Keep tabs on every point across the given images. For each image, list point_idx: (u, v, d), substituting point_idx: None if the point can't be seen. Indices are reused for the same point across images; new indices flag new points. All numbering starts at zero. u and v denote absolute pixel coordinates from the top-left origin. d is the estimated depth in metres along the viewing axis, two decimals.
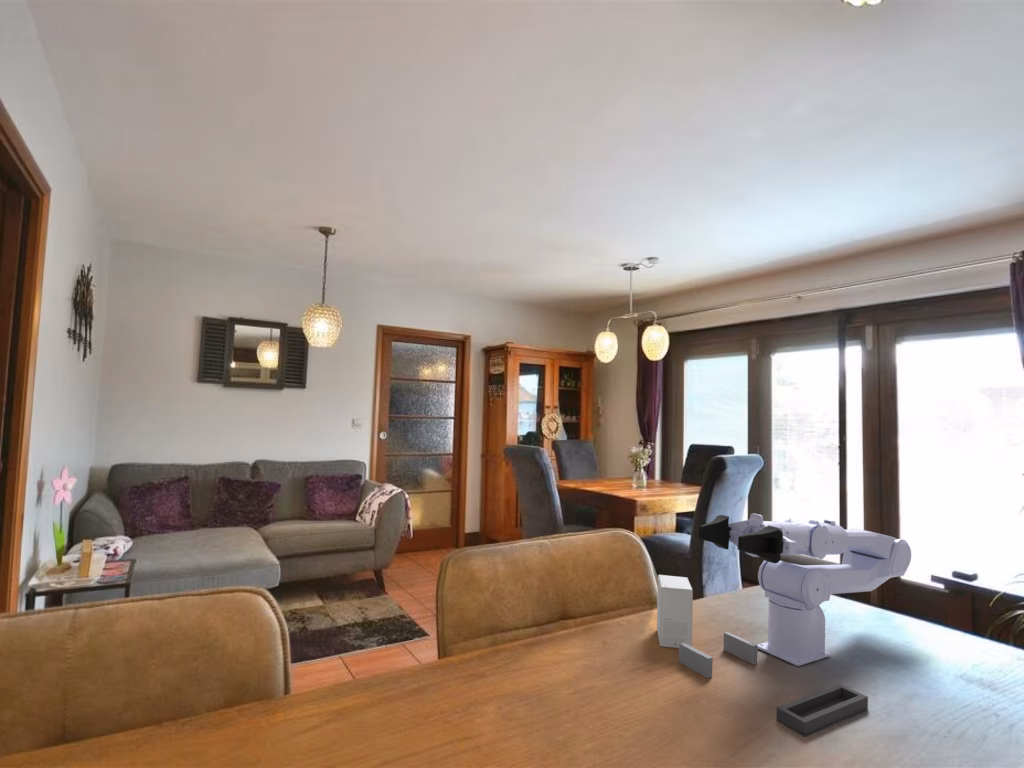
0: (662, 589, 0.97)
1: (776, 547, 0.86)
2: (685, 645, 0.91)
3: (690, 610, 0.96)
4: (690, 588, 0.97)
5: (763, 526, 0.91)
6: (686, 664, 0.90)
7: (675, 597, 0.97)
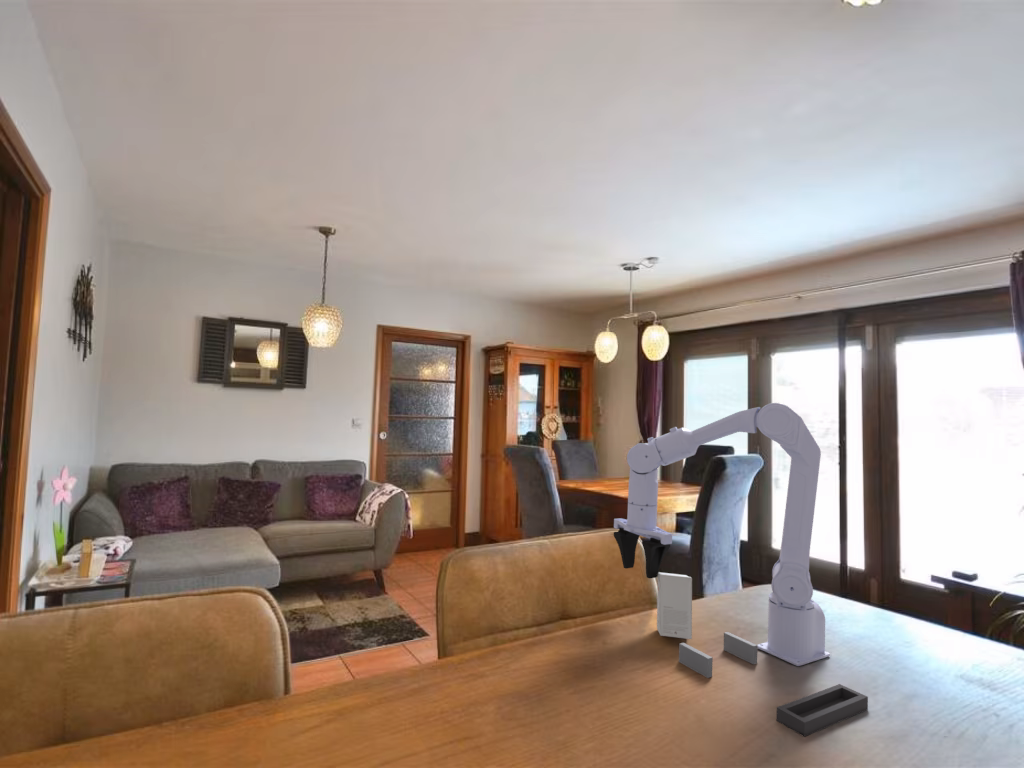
0: (662, 576, 1.00)
1: None
2: (685, 645, 0.91)
3: (690, 598, 0.98)
4: (689, 577, 0.99)
5: (639, 532, 1.06)
6: (686, 664, 0.90)
7: (675, 585, 0.99)
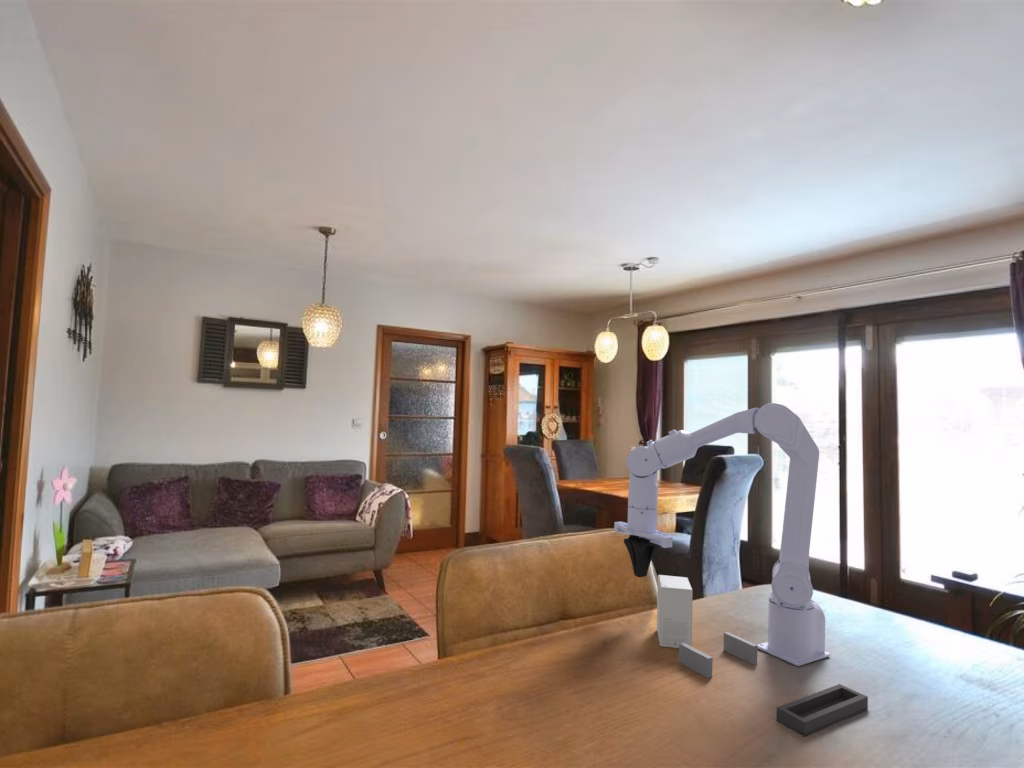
0: (662, 589, 0.97)
1: (650, 545, 1.07)
2: (685, 645, 0.91)
3: (690, 610, 0.96)
4: (690, 588, 0.97)
5: (639, 536, 1.06)
6: (686, 664, 0.90)
7: (675, 597, 0.97)
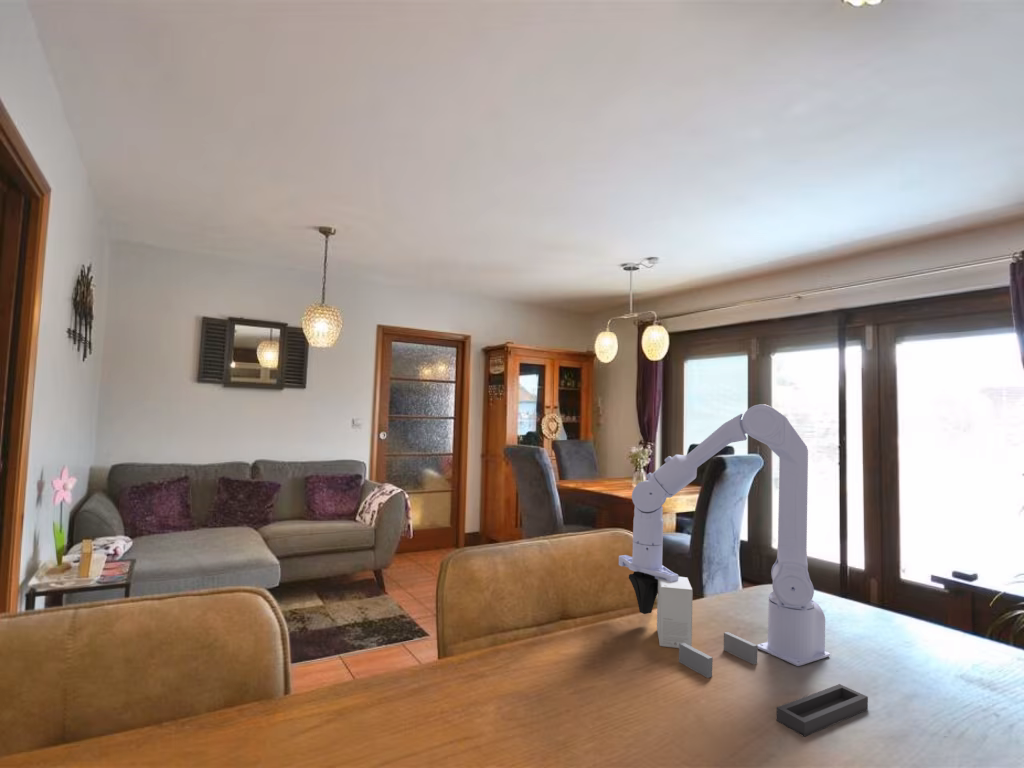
0: (662, 589, 0.97)
1: None
2: (685, 645, 0.91)
3: (690, 610, 0.96)
4: (690, 588, 0.97)
5: (644, 572, 1.04)
6: (686, 664, 0.90)
7: (675, 597, 0.97)
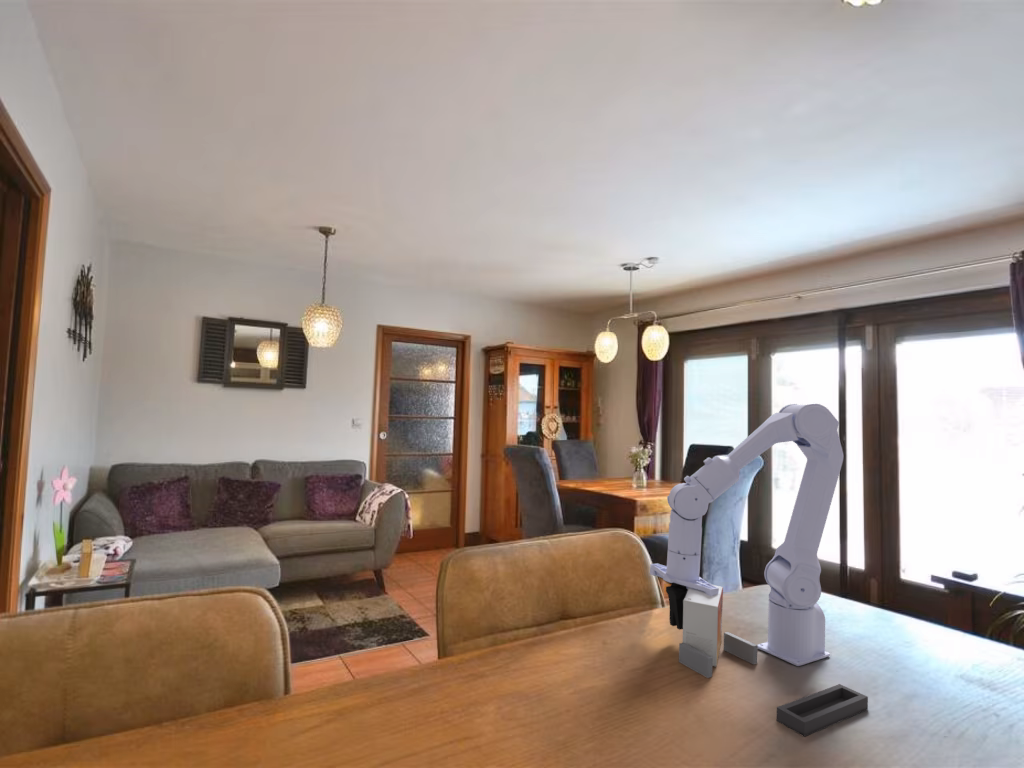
0: (684, 602, 0.91)
1: None
2: (685, 645, 0.91)
3: (715, 627, 0.89)
4: (716, 604, 0.89)
5: (680, 584, 0.96)
6: (686, 664, 0.90)
7: (698, 612, 0.90)
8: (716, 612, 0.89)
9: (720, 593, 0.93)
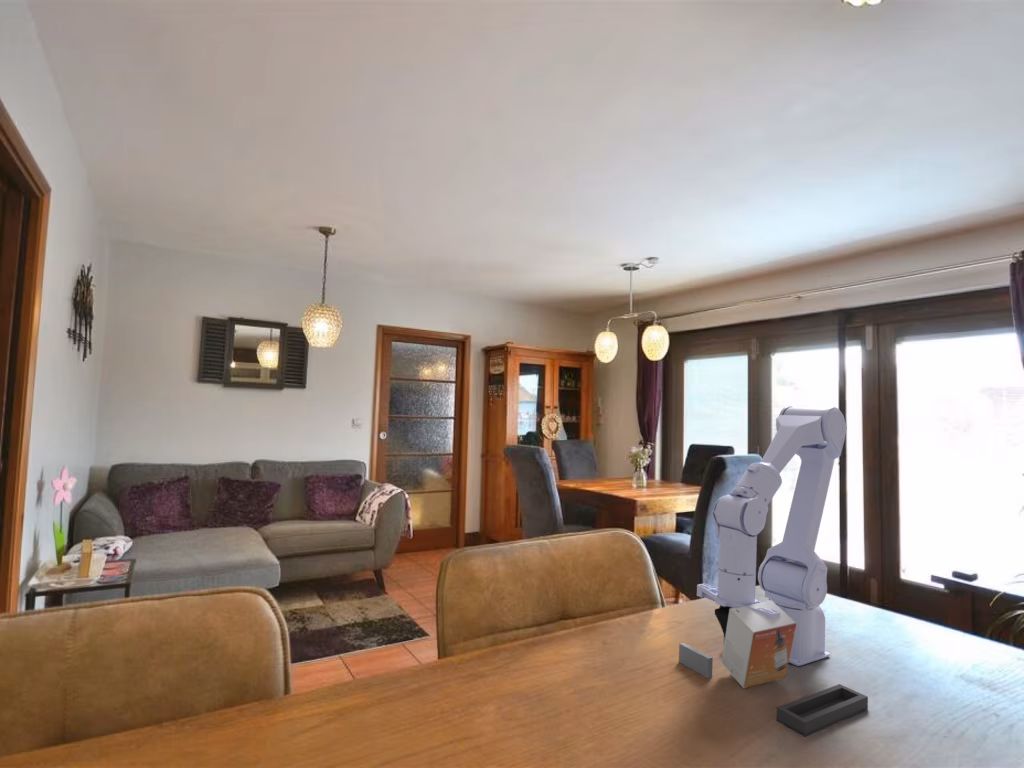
0: (730, 611, 0.85)
1: None
2: (685, 645, 0.91)
3: (748, 651, 0.81)
4: (756, 630, 0.80)
5: None
6: (686, 664, 0.90)
7: (738, 627, 0.83)
8: (751, 637, 0.80)
9: (780, 625, 0.81)
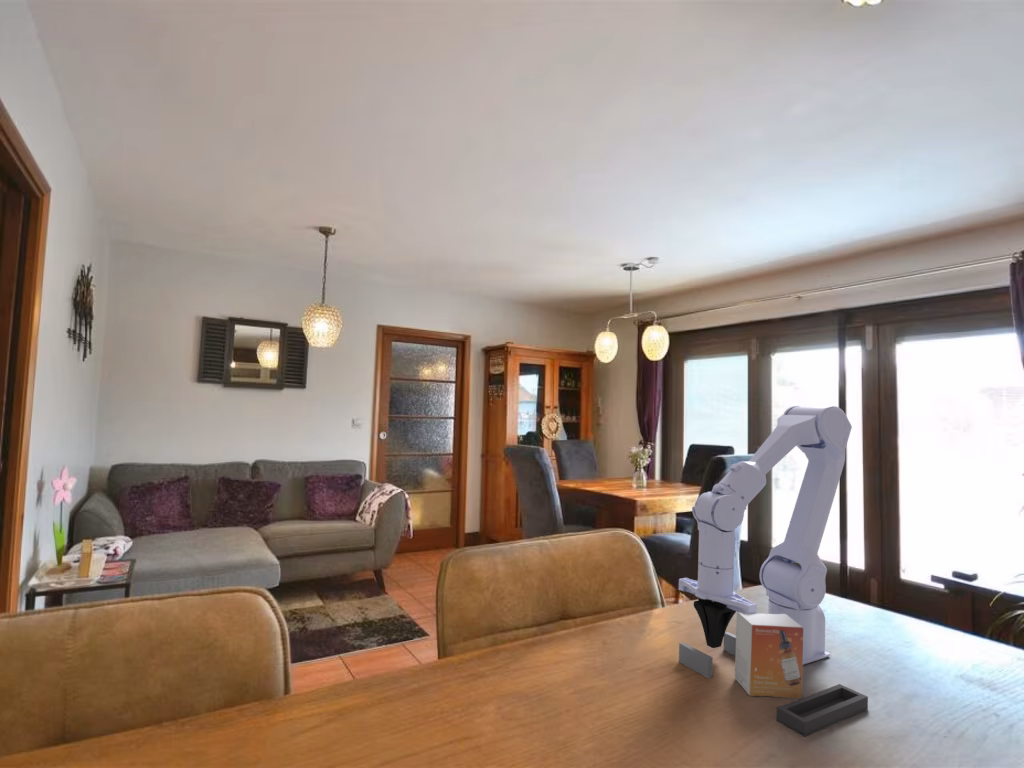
0: (737, 614, 0.86)
1: None
2: (685, 645, 0.91)
3: (749, 648, 0.81)
4: (755, 624, 0.81)
5: (714, 600, 0.90)
6: (686, 664, 0.90)
7: (742, 627, 0.84)
8: (750, 630, 0.81)
9: (784, 626, 0.81)
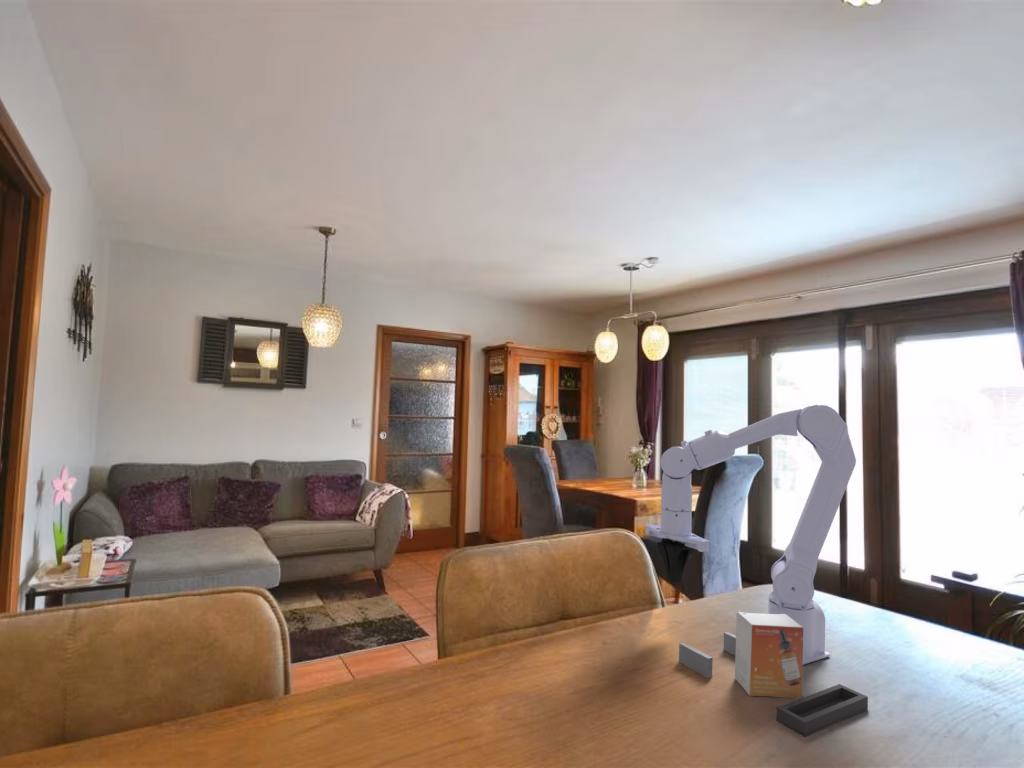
0: (737, 614, 0.86)
1: (684, 549, 1.03)
2: (685, 645, 0.91)
3: (749, 648, 0.81)
4: (755, 624, 0.81)
5: (673, 539, 1.02)
6: (686, 664, 0.90)
7: (742, 627, 0.84)
8: (750, 630, 0.81)
9: (784, 626, 0.81)
